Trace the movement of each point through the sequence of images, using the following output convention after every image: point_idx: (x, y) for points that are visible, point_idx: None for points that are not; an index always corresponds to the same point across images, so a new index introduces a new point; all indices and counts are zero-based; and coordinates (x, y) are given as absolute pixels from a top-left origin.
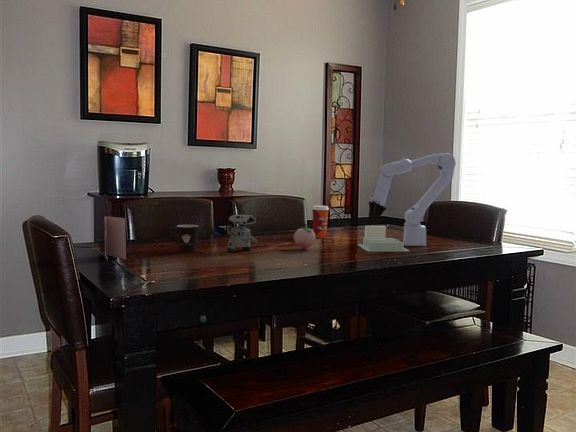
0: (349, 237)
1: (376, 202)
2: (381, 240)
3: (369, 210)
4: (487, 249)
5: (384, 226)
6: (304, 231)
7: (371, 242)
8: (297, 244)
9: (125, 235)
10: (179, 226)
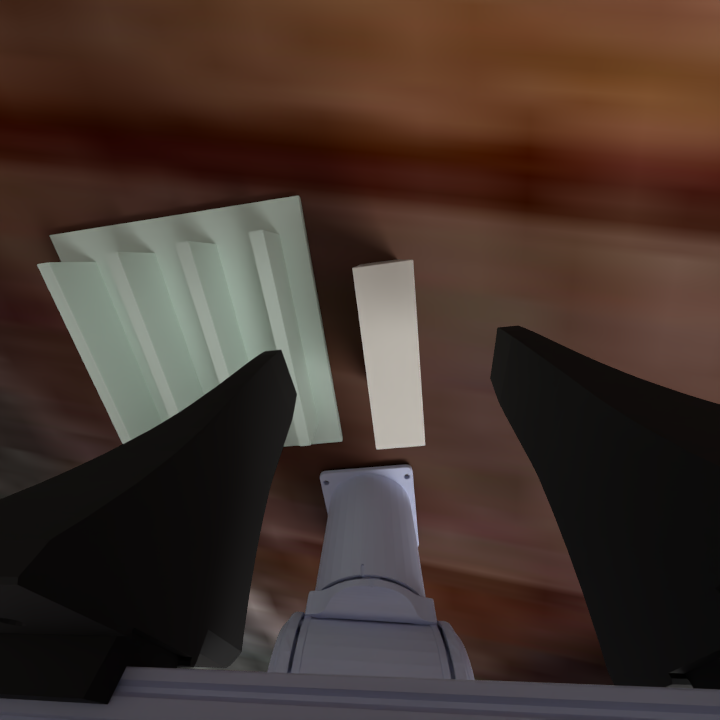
0: (694, 163)
1: (556, 714)
2: (213, 355)
3: (583, 369)
4: None
5: (378, 438)
6: None
7: (45, 268)
8: None
9: None
10: None
